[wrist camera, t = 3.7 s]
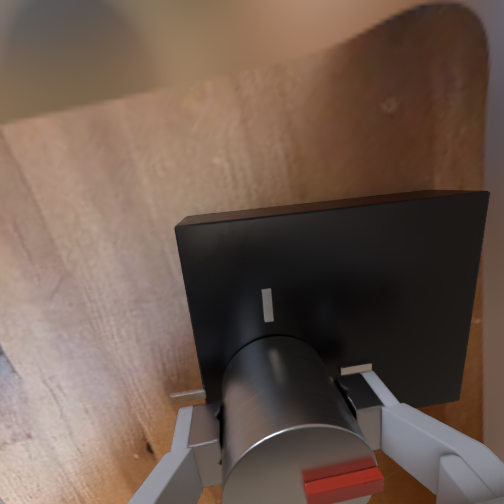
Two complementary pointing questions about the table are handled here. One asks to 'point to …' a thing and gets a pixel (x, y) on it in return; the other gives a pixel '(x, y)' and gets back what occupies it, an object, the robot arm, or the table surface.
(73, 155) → the table surface
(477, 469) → the robot arm
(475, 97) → the table surface
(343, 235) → the panel
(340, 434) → the dial
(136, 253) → the table surface
